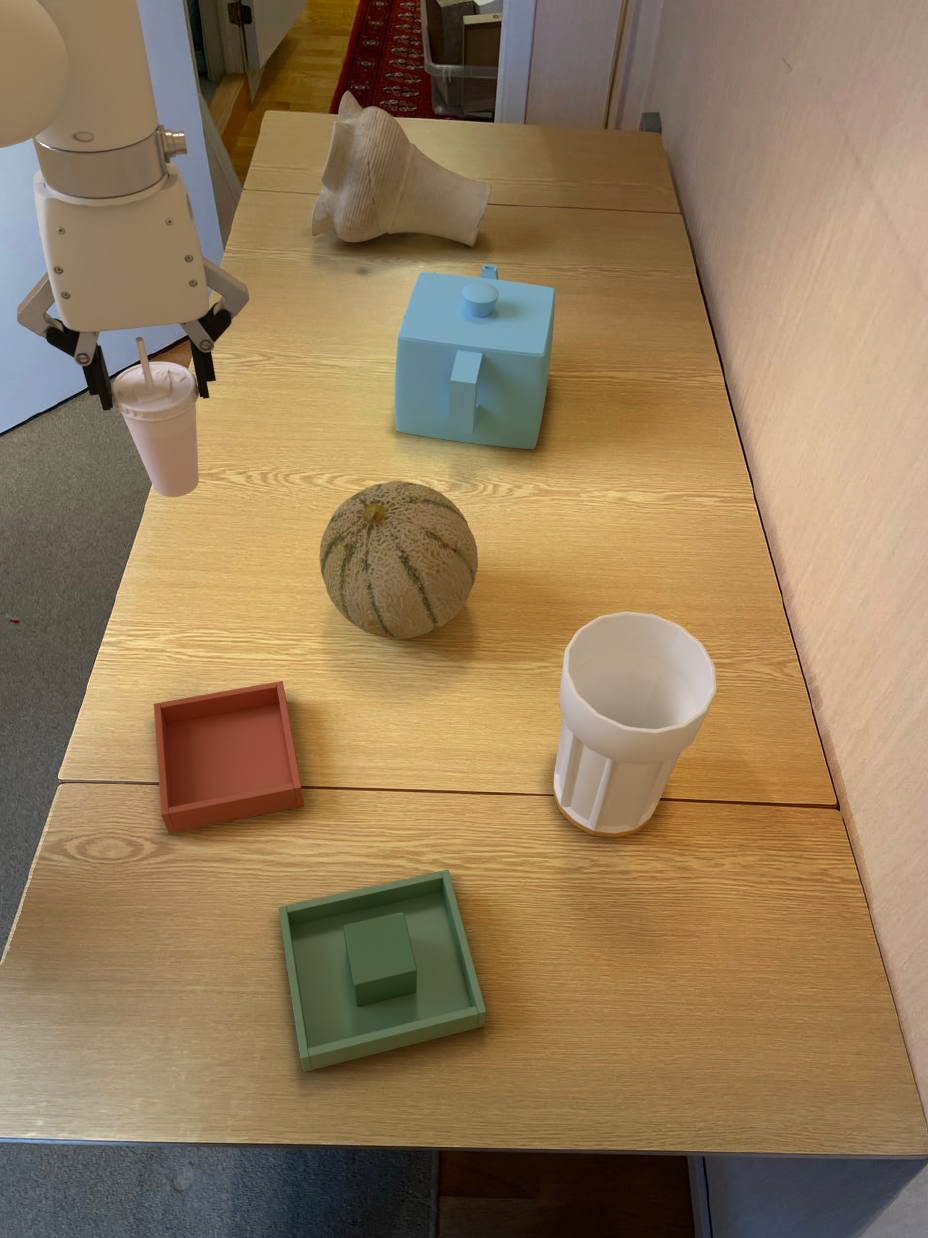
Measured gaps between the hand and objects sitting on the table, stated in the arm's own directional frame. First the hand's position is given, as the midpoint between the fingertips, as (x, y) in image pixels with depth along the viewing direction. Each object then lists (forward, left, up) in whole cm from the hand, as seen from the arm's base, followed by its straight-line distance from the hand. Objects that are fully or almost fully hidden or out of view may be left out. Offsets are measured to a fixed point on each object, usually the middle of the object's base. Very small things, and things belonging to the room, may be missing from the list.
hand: (155, 391), depth 75 cm
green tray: (+9, -37, -27) cm, 47 cm away
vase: (+34, +67, -27) cm, 80 cm away
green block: (+9, -37, -27) cm, 47 cm away
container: (+34, +29, -27) cm, 52 cm away
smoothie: (0, 0, -9) cm, 9 cm away
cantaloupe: (+18, -2, -27) cm, 33 cm away
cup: (+31, -26, -27) cm, 49 cm away
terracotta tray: (0, -16, -27) cm, 32 cm away
